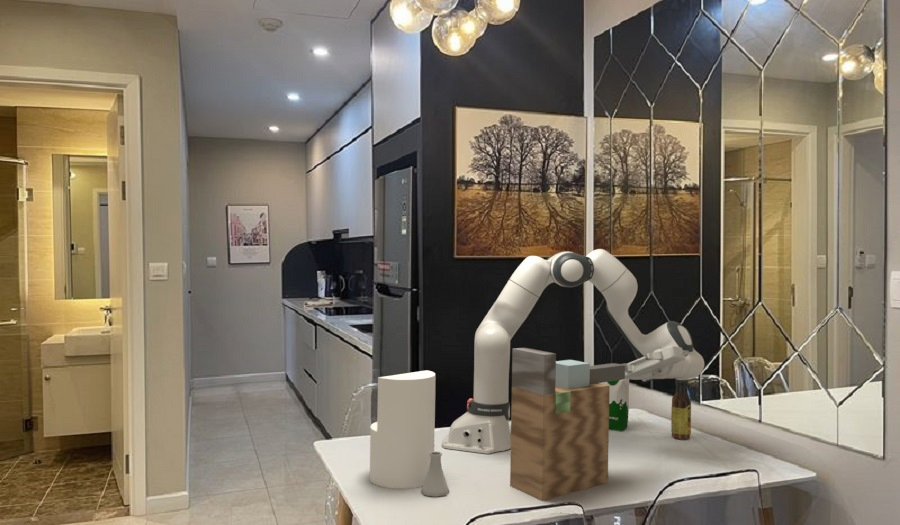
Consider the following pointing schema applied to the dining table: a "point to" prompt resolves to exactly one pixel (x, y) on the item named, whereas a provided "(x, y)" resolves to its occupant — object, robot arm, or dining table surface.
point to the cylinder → (403, 430)
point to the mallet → (586, 373)
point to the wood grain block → (555, 429)
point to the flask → (435, 477)
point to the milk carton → (618, 404)
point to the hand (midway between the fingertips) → (634, 361)
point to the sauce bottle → (681, 411)
